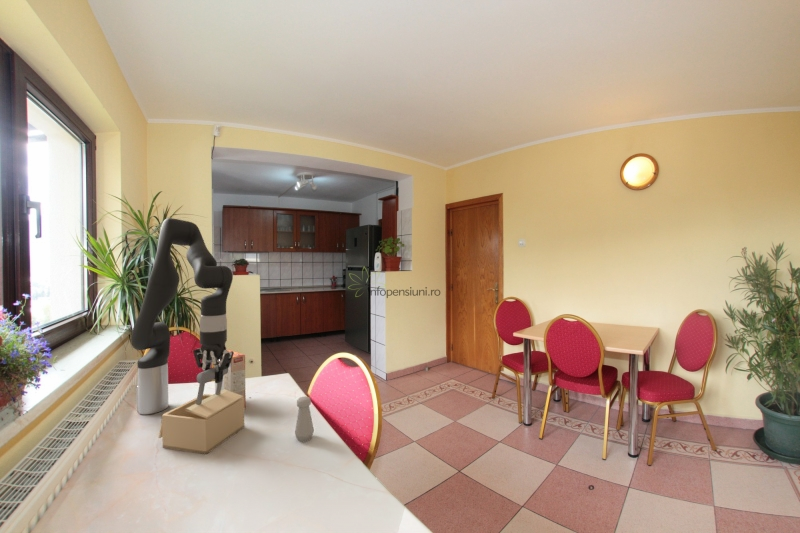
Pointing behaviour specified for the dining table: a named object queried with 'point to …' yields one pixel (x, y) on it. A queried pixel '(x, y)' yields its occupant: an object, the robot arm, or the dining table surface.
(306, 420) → the salt shaker
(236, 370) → the cracker box
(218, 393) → the door with pull handle
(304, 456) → the dining table surface
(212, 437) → the tan open box
